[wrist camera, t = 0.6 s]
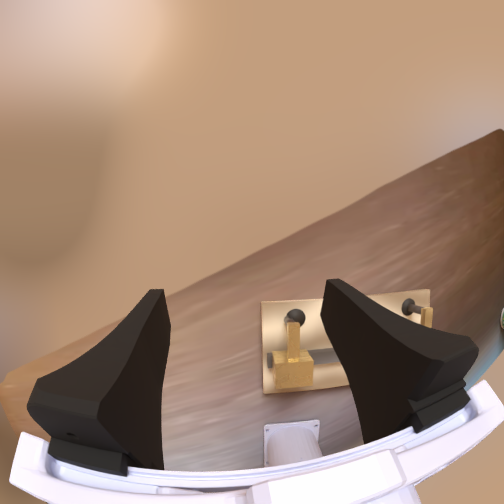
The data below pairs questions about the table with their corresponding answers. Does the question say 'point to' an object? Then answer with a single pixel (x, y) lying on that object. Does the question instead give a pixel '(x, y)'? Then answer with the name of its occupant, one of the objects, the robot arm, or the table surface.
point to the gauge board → (316, 339)
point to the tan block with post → (292, 361)
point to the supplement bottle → (502, 319)
